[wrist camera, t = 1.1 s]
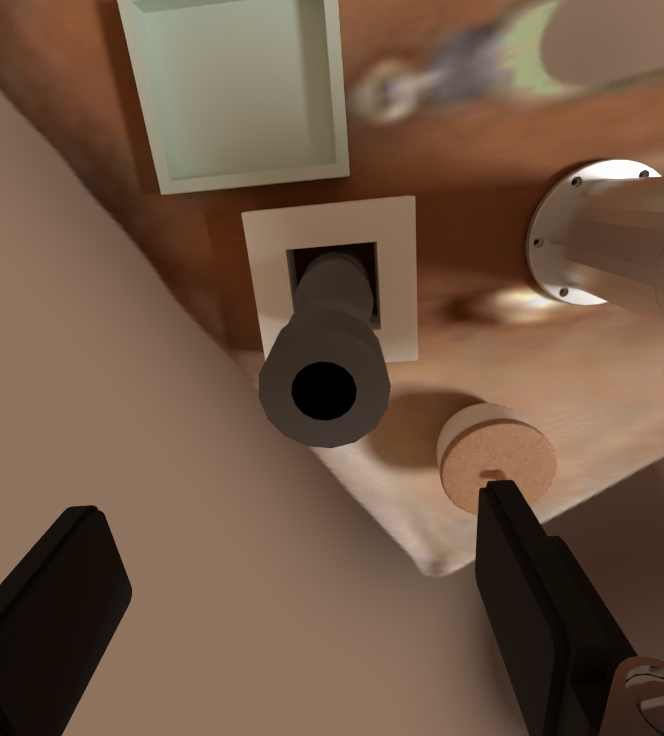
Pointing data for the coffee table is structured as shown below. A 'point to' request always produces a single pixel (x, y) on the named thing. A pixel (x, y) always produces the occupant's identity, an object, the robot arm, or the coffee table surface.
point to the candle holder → (327, 358)
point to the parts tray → (239, 91)
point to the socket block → (338, 227)
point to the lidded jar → (492, 454)
